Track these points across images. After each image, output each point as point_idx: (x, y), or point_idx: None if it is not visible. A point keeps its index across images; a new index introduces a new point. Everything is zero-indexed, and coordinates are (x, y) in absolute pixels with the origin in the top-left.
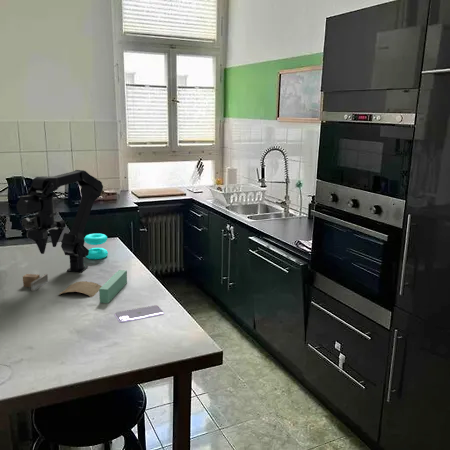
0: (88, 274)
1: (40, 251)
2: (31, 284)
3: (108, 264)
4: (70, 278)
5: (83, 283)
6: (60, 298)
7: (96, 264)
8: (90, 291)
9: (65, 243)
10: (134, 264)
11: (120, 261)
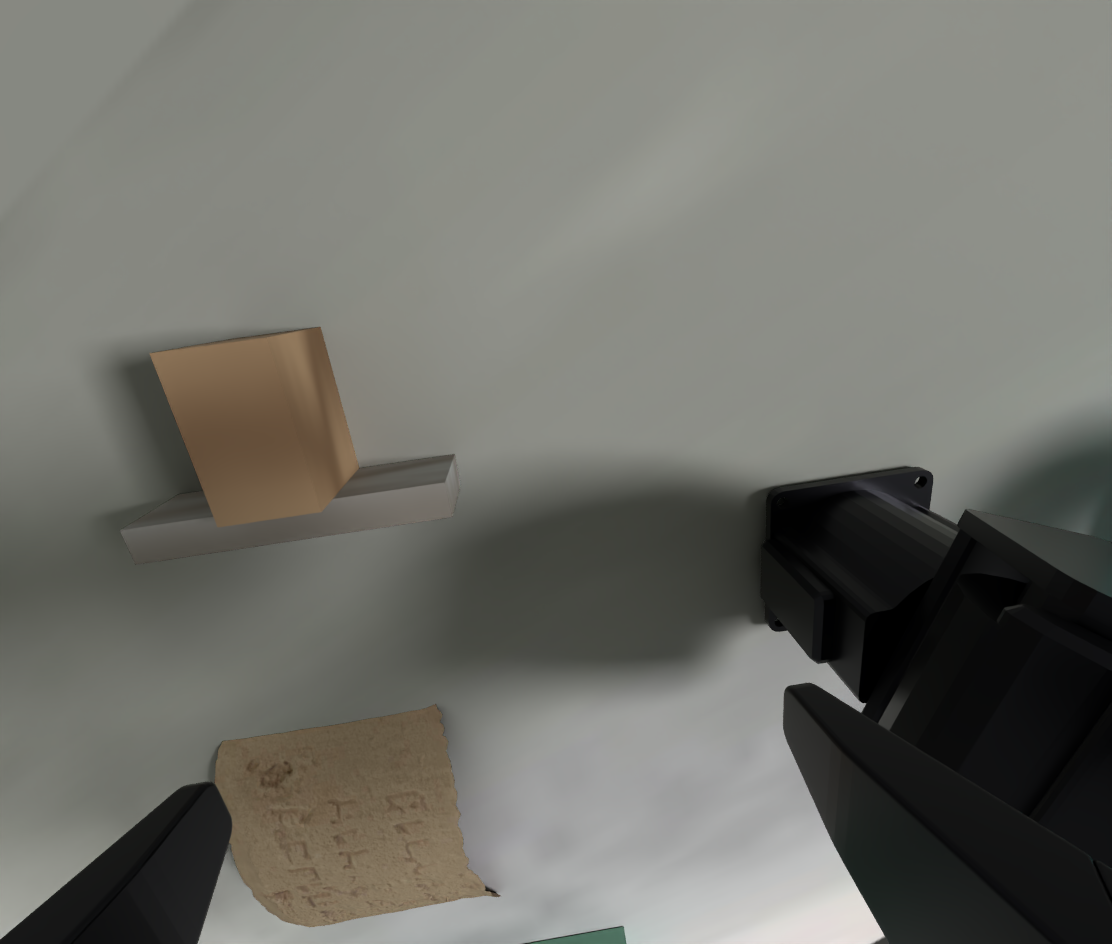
0: (728, 693)
1: (121, 854)
2: (132, 533)
3: None
4: (599, 620)
5: (421, 860)
6: None
7: None
8: (351, 917)
9: (1062, 769)
10: None
11: None
